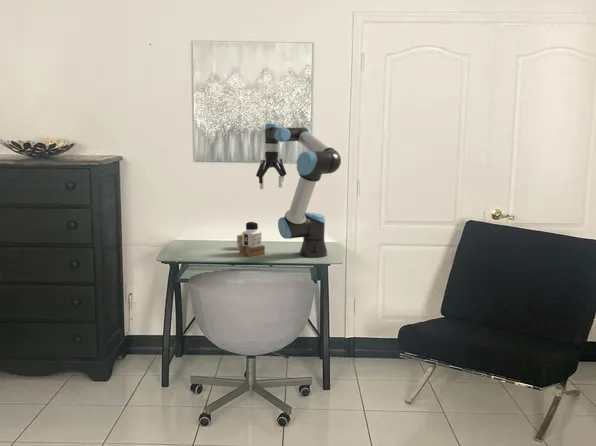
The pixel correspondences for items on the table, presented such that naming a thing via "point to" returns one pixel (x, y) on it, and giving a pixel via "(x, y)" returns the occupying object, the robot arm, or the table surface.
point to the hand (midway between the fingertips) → (271, 188)
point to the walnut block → (251, 250)
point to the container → (252, 235)
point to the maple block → (239, 240)
